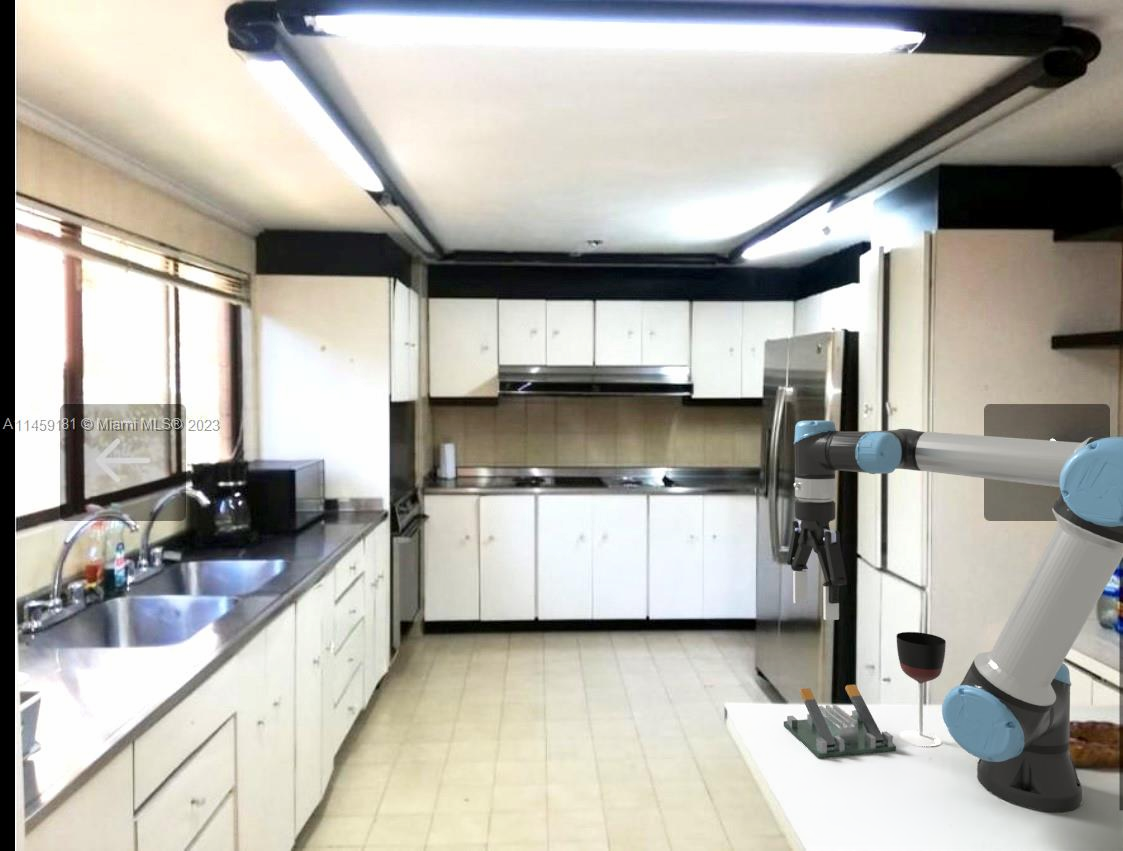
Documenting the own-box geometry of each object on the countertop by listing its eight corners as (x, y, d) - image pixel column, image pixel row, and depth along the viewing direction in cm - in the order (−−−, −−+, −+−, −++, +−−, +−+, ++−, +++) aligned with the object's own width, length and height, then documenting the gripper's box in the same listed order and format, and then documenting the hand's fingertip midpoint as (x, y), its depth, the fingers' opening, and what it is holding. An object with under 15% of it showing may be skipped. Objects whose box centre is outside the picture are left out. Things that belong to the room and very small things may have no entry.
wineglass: (943, 752, 137) (944, 647, 136) (893, 741, 142) (894, 640, 141) (946, 735, 144) (947, 636, 143) (898, 725, 148) (899, 629, 148)
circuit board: (896, 751, 137) (896, 725, 137) (818, 758, 135) (818, 732, 135) (854, 719, 151) (855, 696, 151) (783, 726, 149) (783, 702, 149)
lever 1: (834, 746, 137) (836, 744, 136) (824, 747, 136) (826, 744, 136) (808, 691, 146) (810, 688, 146) (799, 691, 146) (800, 688, 145)
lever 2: (882, 742, 138) (884, 739, 138) (873, 743, 138) (874, 740, 137) (853, 687, 148) (855, 684, 147) (844, 688, 147) (846, 685, 147)
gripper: (769, 493, 151) (770, 596, 152) (828, 508, 128) (829, 630, 129) (803, 491, 153) (803, 594, 153) (867, 506, 129) (867, 627, 130)
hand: (815, 610), depth 141 cm, fingers open, 11 cm apart
